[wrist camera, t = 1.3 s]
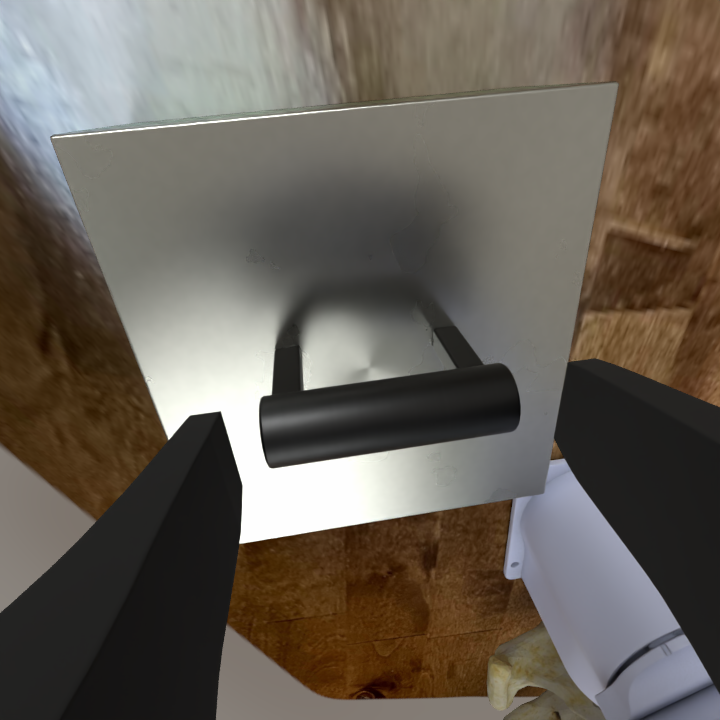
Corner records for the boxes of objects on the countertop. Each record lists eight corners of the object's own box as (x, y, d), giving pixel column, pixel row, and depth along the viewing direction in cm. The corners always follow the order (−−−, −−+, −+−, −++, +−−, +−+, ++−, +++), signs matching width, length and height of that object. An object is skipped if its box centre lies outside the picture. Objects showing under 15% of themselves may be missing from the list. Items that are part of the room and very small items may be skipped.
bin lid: (536, 481, 18) (608, 593, 14) (212, 533, 17) (187, 671, 13) (603, 81, 11) (788, 70, 7) (62, 133, 10) (-96, 156, 6)
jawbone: (860, 517, 29) (1057, 698, 20) (792, 662, 37) (908, 832, 29) (464, 548, 33) (487, 708, 25) (486, 672, 42) (508, 821, 33)
